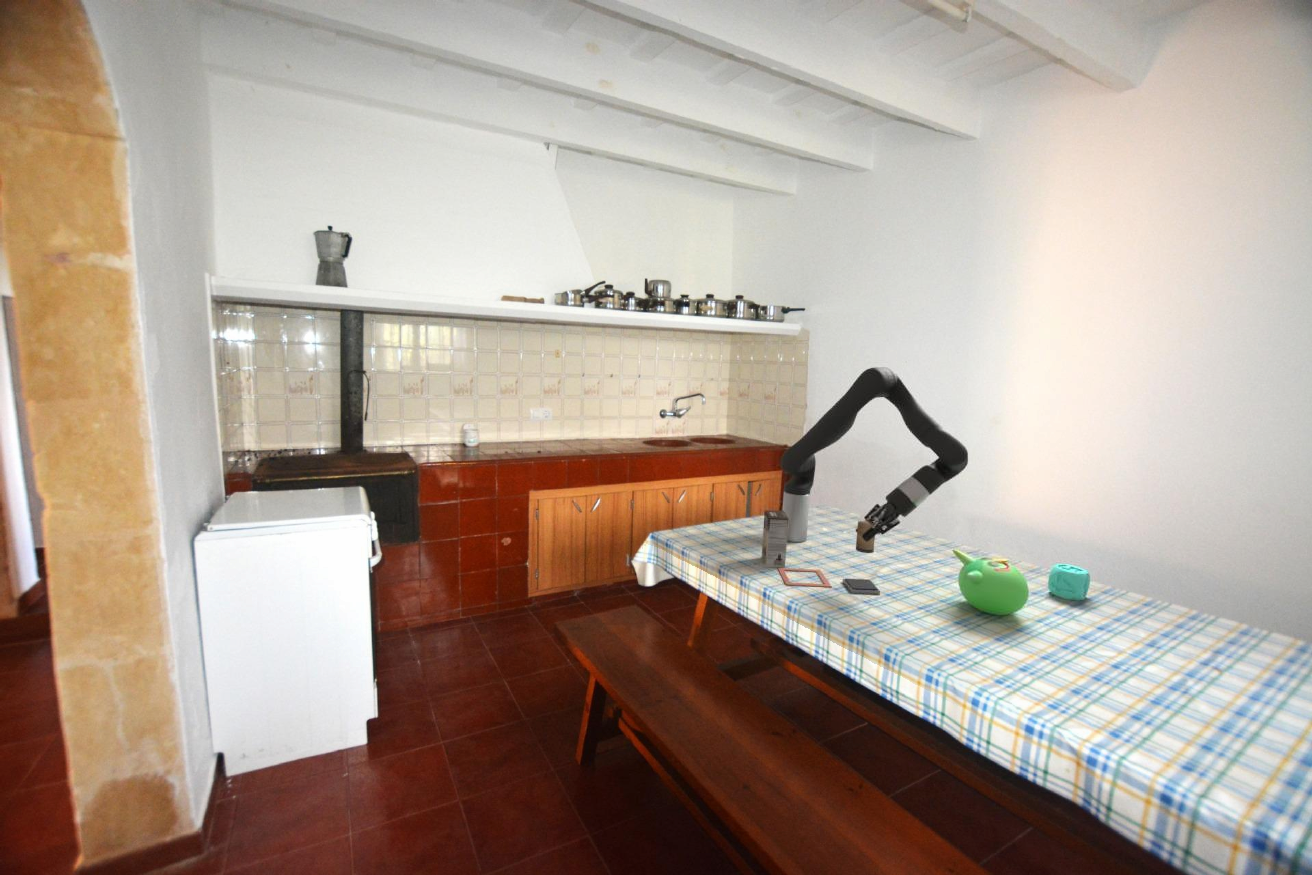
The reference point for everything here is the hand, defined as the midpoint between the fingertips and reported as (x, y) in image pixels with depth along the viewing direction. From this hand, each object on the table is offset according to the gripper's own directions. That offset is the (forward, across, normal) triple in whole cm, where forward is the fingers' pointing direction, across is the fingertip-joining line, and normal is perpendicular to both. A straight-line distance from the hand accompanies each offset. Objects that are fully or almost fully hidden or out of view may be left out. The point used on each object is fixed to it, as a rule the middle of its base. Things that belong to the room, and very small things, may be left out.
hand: (860, 536), depth 163 cm
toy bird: (-11, +11, +33) cm, 37 cm away
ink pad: (+10, 0, +12) cm, 16 cm away
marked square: (+21, -6, +1) cm, 22 cm away
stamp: (+2, 0, +4) cm, 4 cm away
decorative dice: (-32, -2, +55) cm, 63 cm away
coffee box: (+26, -18, -4) cm, 32 cm away
